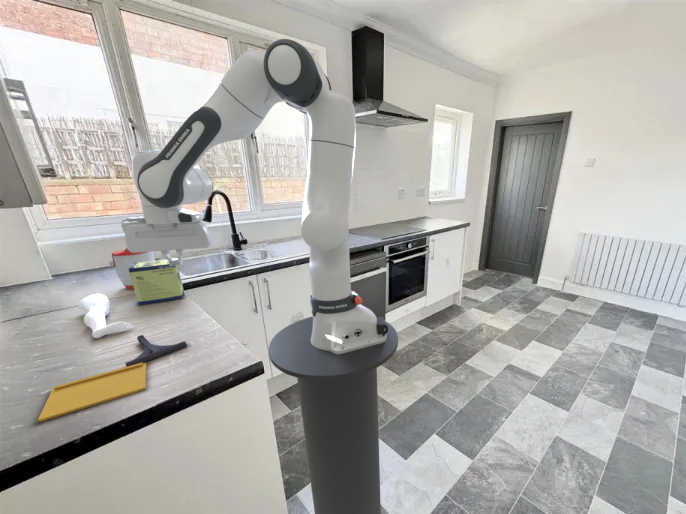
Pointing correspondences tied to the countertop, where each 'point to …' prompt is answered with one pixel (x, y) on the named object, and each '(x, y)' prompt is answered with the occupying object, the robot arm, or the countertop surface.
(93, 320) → the leg
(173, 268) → the protein box
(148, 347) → the bracket
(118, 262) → the citrus juicer
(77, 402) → the tray
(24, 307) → the countertop surface
